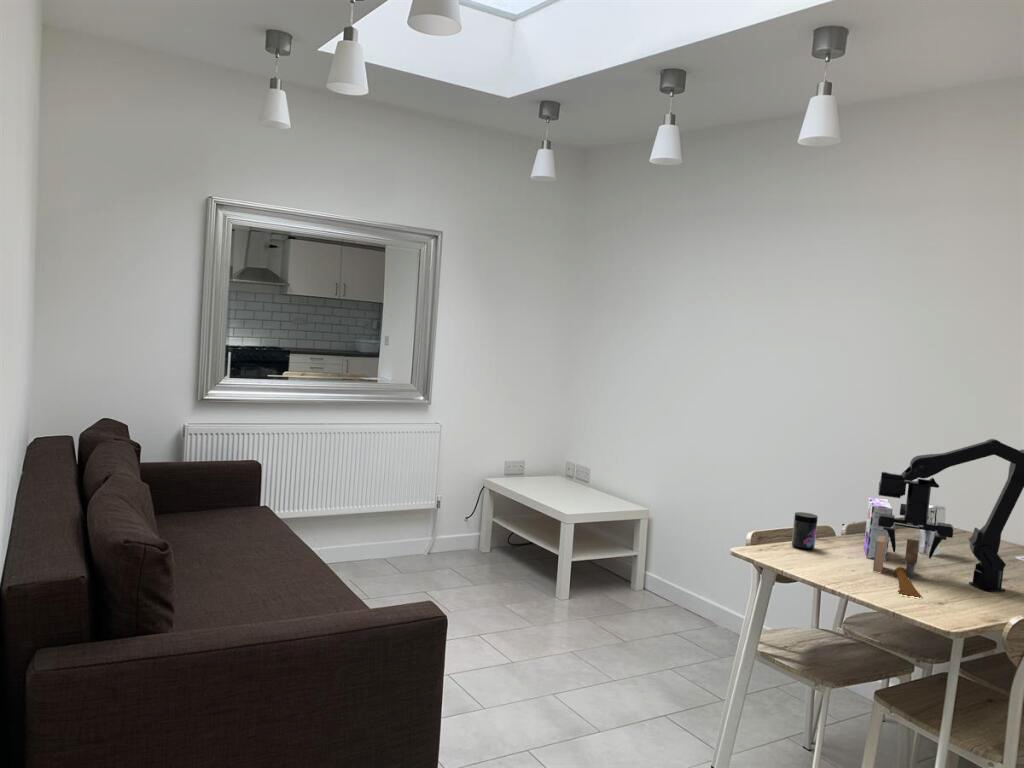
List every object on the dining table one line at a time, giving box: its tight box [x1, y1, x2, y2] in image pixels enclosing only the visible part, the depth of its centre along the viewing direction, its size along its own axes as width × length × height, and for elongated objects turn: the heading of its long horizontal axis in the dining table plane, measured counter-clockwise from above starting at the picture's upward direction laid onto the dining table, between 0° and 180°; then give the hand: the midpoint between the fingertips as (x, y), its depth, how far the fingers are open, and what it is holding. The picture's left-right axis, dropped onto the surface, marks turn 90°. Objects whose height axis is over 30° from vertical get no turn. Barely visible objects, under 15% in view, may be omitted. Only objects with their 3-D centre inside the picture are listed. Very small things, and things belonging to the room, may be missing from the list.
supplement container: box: [791, 511, 819, 552], centre depth 249 cm, size 7×7×10 cm
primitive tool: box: [892, 566, 923, 599], centre depth 216 cm, size 19×6×4 cm, turn 165°
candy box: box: [863, 496, 893, 562], centre depth 248 cm, size 14×6×16 cm, turn 160°
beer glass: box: [918, 503, 946, 557], centre depth 255 cm, size 7×7×15 cm
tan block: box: [872, 535, 886, 574], centre depth 232 cm, size 2×8×9 cm, turn 153°
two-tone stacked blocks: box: [904, 538, 920, 580], centre depth 228 cm, size 3×9×10 cm, turn 153°
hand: (911, 555), depth 228 cm, fingers open, 9 cm apart
